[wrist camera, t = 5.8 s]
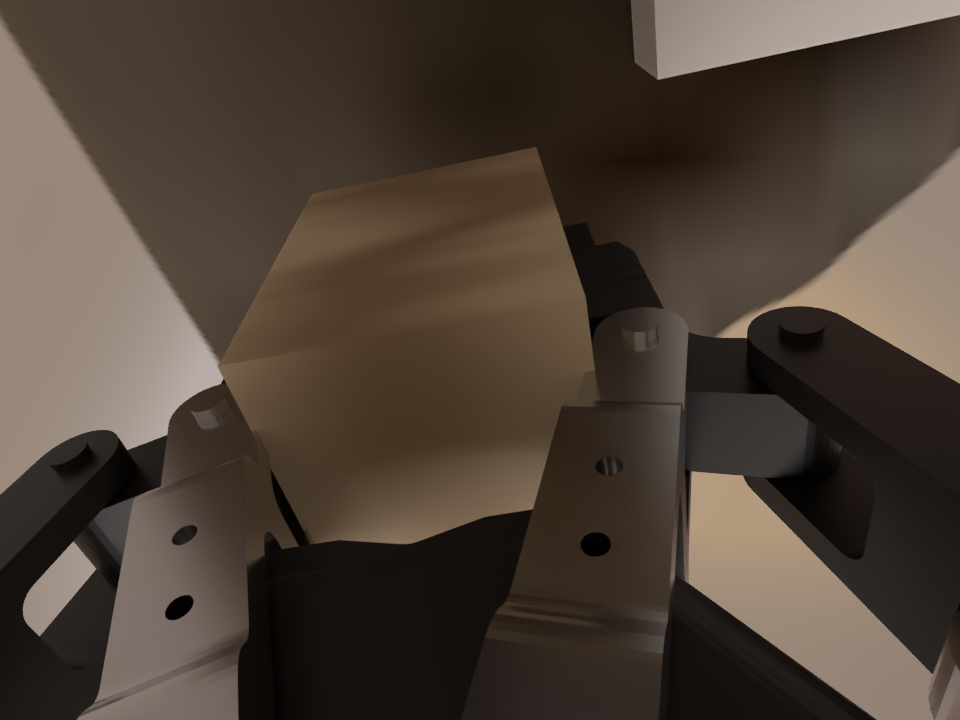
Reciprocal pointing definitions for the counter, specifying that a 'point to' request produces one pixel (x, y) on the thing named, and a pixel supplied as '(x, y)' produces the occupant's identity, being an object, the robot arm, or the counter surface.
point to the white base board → (760, 28)
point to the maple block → (415, 350)
